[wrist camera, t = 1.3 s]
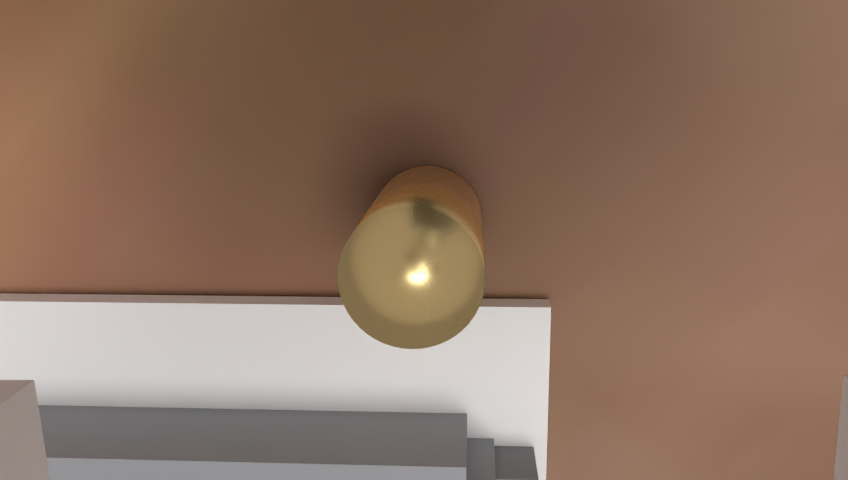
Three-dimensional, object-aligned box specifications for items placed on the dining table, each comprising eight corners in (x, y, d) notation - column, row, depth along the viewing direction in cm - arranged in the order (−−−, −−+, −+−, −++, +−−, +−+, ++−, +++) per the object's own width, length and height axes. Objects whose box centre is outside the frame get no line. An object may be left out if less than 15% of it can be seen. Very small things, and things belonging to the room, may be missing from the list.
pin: (372, 165, 29) (335, 205, 21) (482, 165, 29) (486, 206, 21) (374, 271, 30) (339, 347, 22) (481, 272, 29) (484, 350, 22)
